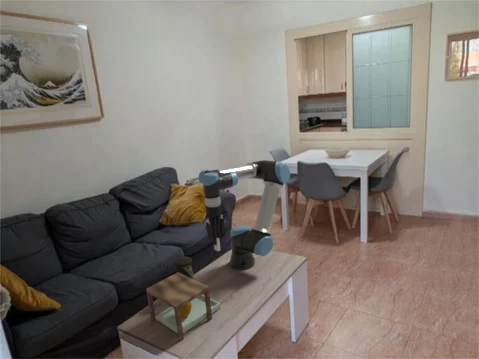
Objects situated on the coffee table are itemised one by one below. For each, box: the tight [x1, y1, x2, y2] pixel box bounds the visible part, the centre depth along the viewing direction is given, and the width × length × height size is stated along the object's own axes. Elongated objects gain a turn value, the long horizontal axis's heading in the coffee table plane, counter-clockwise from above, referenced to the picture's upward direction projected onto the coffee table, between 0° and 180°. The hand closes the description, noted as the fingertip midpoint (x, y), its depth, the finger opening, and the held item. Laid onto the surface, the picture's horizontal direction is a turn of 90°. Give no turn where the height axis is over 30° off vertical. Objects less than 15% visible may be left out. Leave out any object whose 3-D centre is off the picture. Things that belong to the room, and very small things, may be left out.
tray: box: [156, 293, 221, 335], centre depth 156 cm, size 24×17×2 cm
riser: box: [145, 272, 213, 342], centre depth 151 cm, size 18×22×16 cm
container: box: [173, 256, 194, 279], centre depth 171 cm, size 9×9×20 cm
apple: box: [180, 301, 192, 318], centre depth 153 cm, size 9×8×9 cm
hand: (217, 249), depth 166 cm, fingers closed
